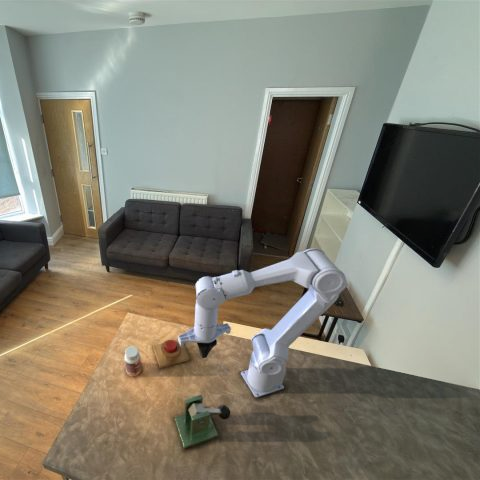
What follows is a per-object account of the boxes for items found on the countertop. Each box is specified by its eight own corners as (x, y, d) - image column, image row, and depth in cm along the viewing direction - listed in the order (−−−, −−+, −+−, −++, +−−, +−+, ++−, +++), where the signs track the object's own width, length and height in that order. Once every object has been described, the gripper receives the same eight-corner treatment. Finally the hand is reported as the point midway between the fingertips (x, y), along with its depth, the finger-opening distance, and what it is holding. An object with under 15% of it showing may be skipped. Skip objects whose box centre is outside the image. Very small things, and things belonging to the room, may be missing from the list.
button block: (180, 340, 91) (181, 334, 90) (189, 360, 84) (189, 353, 83) (153, 348, 89) (153, 341, 88) (159, 368, 82) (159, 361, 81)
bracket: (205, 409, 71) (207, 387, 67) (217, 436, 65) (221, 415, 61) (174, 419, 69) (174, 398, 64) (184, 449, 63) (184, 428, 58)
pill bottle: (138, 377, 79) (137, 359, 76) (124, 375, 80) (121, 356, 76) (142, 364, 84) (141, 346, 80) (128, 361, 84) (126, 343, 81)
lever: (222, 410, 70) (228, 402, 69) (228, 422, 67) (234, 414, 66) (186, 408, 65) (193, 400, 64) (191, 422, 62) (198, 413, 61)
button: (174, 342, 87) (174, 339, 87) (178, 351, 84) (178, 347, 84) (164, 345, 87) (164, 341, 86) (167, 354, 84) (167, 350, 83)
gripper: (223, 303, 73) (219, 338, 79) (174, 315, 69) (174, 350, 76) (237, 321, 67) (231, 357, 73) (183, 335, 63) (182, 371, 70)
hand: (203, 355), depth 74 cm, fingers closed
